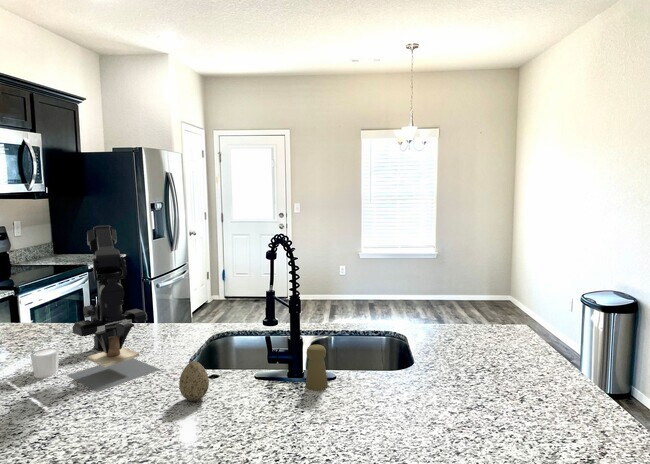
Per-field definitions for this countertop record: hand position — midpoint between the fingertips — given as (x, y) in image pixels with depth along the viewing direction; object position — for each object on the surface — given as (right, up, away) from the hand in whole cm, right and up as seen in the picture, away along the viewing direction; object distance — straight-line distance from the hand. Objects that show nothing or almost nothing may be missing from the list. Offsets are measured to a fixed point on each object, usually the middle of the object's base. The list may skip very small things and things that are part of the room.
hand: (113, 351), depth 125 cm
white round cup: (-19, -7, 0) cm, 20 cm away
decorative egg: (+28, -8, -15) cm, 33 cm away
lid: (0, -2, 0) cm, 2 cm away
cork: (+58, -7, -8) cm, 59 cm away
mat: (0, -7, +1) cm, 7 cm away
